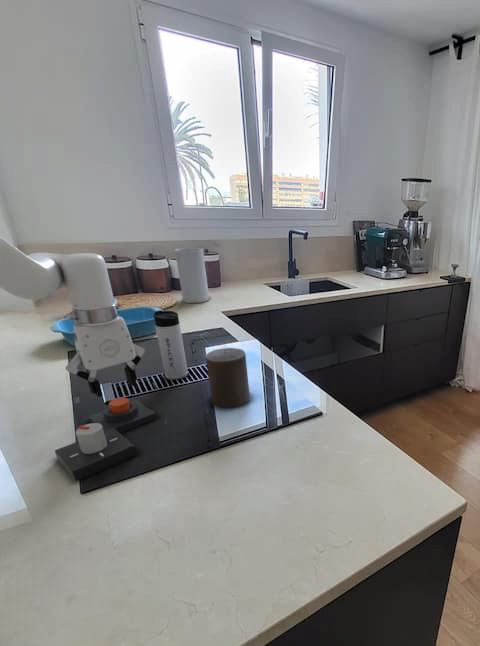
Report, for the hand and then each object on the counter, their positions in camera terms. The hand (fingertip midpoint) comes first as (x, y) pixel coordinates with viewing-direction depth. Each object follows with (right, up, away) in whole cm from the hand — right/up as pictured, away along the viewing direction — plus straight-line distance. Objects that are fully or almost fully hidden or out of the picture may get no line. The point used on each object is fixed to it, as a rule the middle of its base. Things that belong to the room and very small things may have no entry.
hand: (115, 388), depth 90 cm
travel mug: (+1, +2, +27) cm, 27 cm away
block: (0, -8, +4) cm, 9 cm away
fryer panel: (+2, -14, -9) cm, 17 cm away
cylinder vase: (-27, +39, +109) cm, 119 cm away
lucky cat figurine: (-62, +32, +90) cm, 114 cm away
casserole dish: (-37, +17, +59) cm, 72 cm away
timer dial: (+2, -11, -11) cm, 16 cm away
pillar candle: (+22, -4, +15) cm, 27 cm away
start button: (0, -5, +2) cm, 5 cm away
